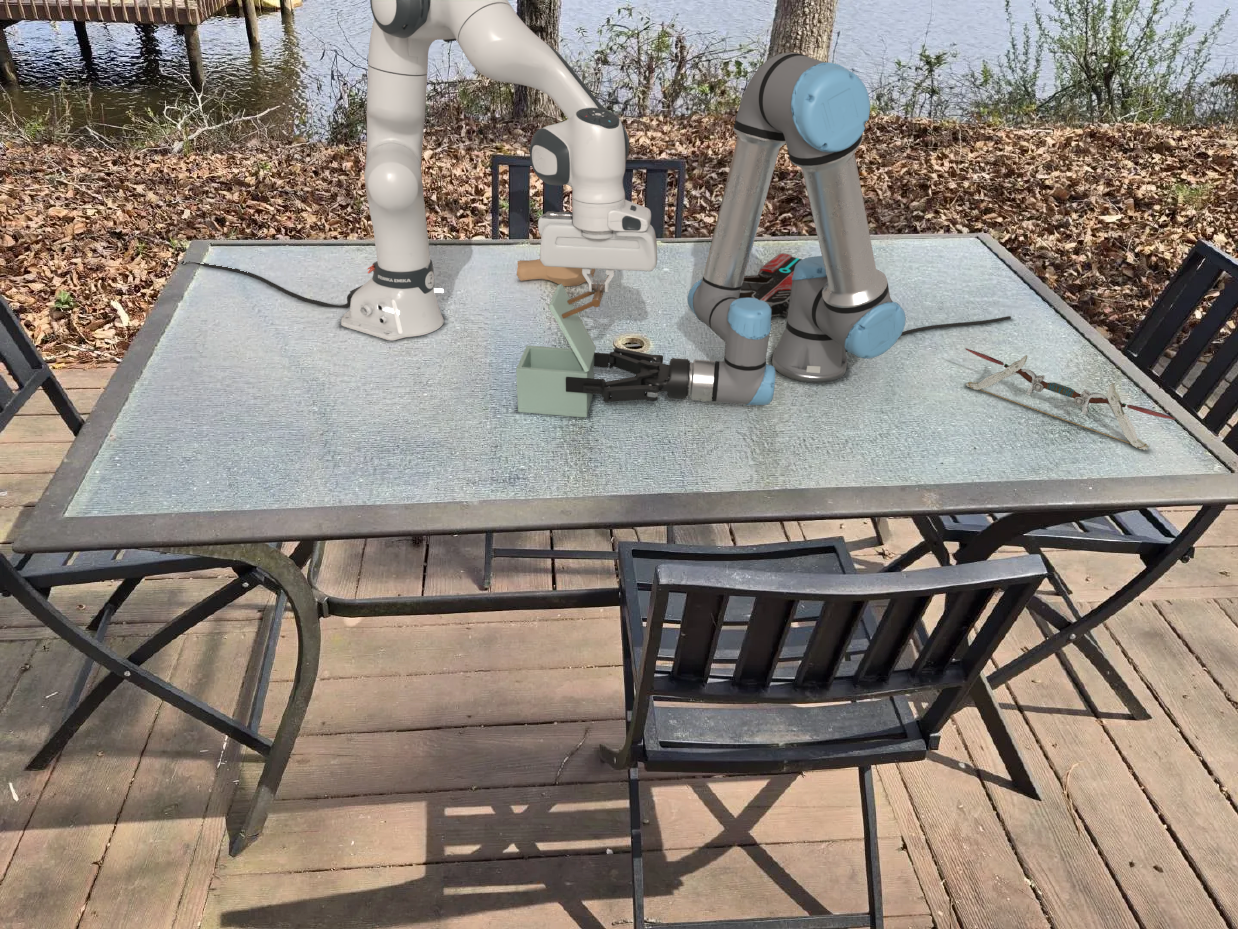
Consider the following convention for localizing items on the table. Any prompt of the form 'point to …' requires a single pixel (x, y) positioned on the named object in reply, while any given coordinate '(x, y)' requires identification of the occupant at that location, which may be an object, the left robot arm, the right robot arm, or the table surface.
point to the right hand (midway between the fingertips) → (570, 370)
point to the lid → (575, 322)
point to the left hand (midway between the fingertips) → (598, 291)
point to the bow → (1079, 399)
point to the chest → (551, 382)
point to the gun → (772, 283)
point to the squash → (550, 273)
